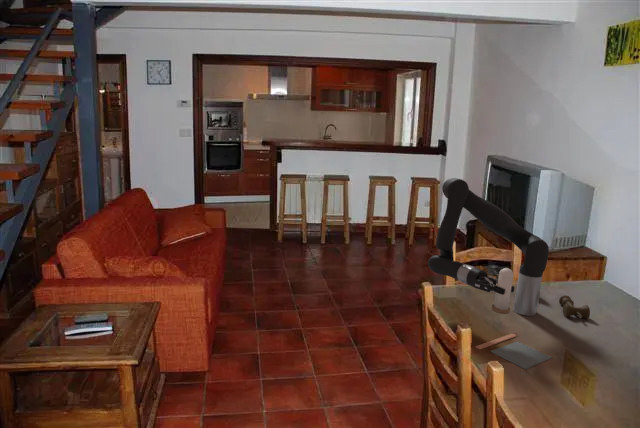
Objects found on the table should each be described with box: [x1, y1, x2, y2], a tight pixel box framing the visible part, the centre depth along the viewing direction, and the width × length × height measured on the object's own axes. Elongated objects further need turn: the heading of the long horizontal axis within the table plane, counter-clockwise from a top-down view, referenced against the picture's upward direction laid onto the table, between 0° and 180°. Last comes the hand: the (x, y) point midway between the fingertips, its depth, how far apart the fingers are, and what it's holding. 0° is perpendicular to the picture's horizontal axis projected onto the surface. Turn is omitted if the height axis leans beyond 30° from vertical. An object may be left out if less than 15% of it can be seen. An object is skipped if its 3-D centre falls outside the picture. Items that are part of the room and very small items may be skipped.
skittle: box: [491, 267, 514, 315], centre depth 194 cm, size 6×6×16 cm
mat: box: [490, 341, 553, 370], centre depth 186 cm, size 16×14×1 cm
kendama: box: [558, 295, 591, 320], centre depth 226 cm, size 6×10×20 cm
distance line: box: [475, 333, 517, 350], centre depth 195 cm, size 22×2×1 cm, turn 126°
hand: (508, 290), depth 192 cm, fingers closed on skittle, 5 cm apart
